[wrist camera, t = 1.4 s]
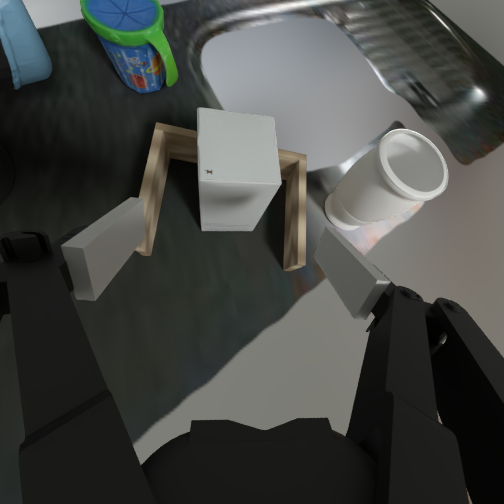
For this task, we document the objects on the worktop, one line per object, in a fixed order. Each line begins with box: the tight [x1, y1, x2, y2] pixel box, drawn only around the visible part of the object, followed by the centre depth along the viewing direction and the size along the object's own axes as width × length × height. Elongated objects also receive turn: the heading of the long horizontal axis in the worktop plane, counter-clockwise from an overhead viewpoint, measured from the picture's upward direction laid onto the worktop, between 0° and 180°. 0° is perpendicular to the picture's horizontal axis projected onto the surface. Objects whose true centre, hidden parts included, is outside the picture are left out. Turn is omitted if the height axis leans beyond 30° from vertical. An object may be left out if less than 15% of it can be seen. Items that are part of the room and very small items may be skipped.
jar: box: [325, 129, 448, 230], centre depth 34 cm, size 11×10×15 cm
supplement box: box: [197, 108, 282, 231], centre depth 29 cm, size 9×9×15 cm
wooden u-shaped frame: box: [135, 122, 306, 271], centre depth 33 cm, size 19×24×6 cm
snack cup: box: [80, 0, 178, 93], centre depth 34 cm, size 16×10×10 cm
